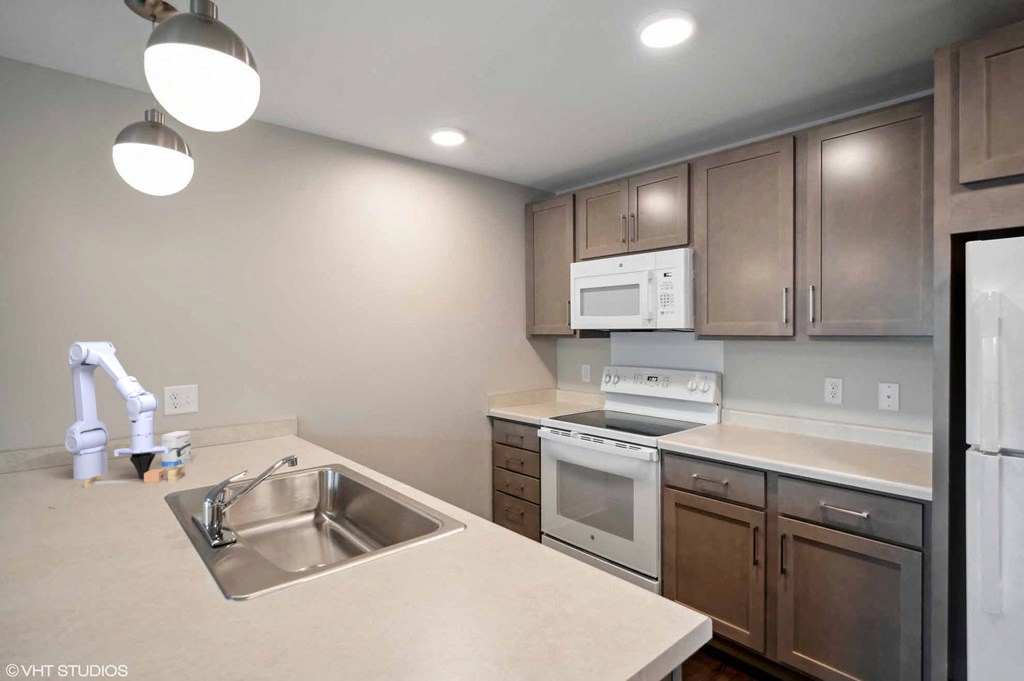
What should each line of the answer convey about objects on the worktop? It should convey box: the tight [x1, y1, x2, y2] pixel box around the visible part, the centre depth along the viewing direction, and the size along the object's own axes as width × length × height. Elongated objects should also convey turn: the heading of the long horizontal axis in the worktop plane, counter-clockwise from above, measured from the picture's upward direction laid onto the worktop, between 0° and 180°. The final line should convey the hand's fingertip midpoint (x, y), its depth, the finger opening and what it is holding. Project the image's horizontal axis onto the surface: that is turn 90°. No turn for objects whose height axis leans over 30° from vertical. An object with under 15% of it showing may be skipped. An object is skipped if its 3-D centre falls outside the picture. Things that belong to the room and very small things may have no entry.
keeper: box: [143, 467, 167, 484], centre depth 157 cm, size 5×4×3 cm
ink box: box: [161, 430, 192, 468], centre depth 177 cm, size 8×5×12 cm, turn 179°
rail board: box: [83, 464, 186, 489], centre depth 156 cm, size 7×24×4 cm, turn 102°
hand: (143, 477), depth 156 cm, fingers closed
